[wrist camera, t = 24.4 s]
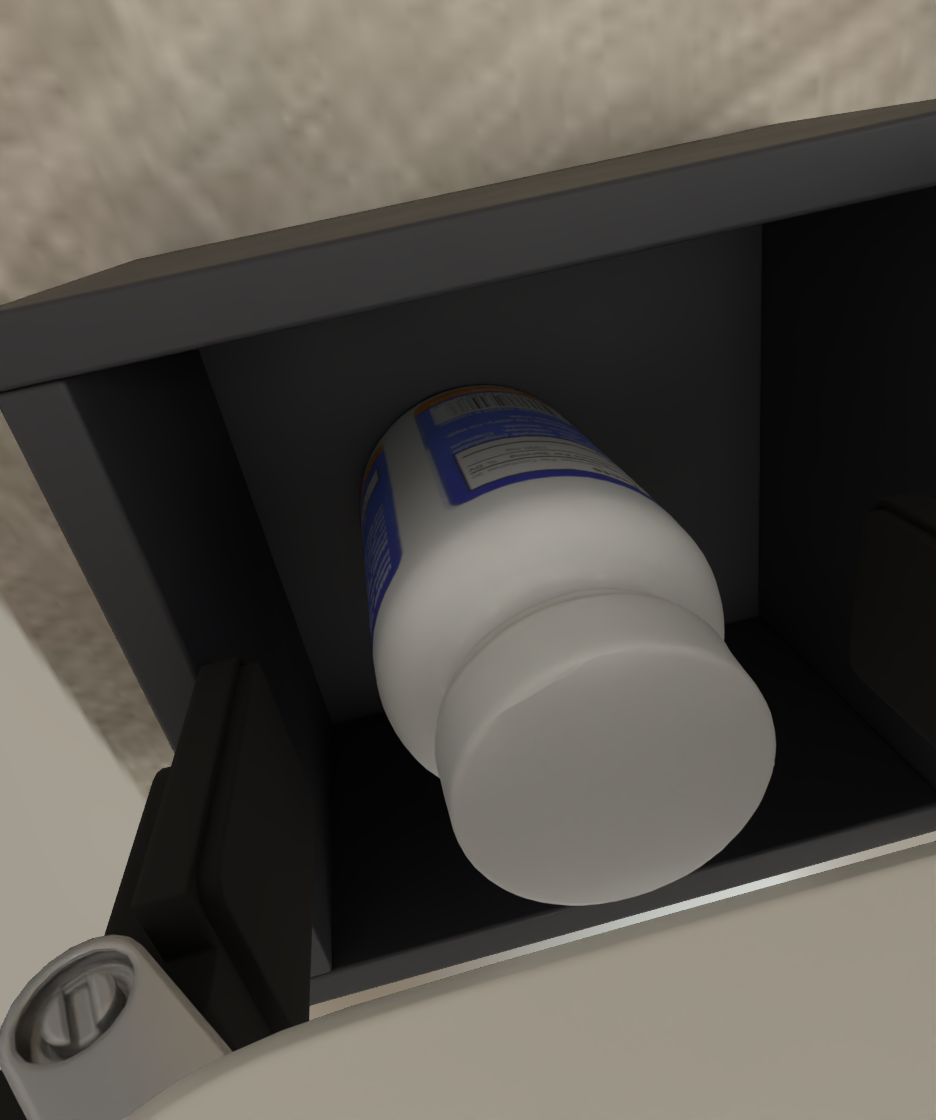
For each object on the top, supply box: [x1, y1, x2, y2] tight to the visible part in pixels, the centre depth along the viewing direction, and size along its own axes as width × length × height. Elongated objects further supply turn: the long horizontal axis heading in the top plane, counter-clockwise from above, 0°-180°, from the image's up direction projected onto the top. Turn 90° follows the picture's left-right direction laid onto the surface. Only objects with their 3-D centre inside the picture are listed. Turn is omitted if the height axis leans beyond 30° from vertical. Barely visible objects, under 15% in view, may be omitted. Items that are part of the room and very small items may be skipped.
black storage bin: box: [0, 99, 936, 1006], centre depth 14 cm, size 14×13×8 cm
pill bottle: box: [360, 385, 776, 906], centre depth 13 cm, size 5×5×10 cm
